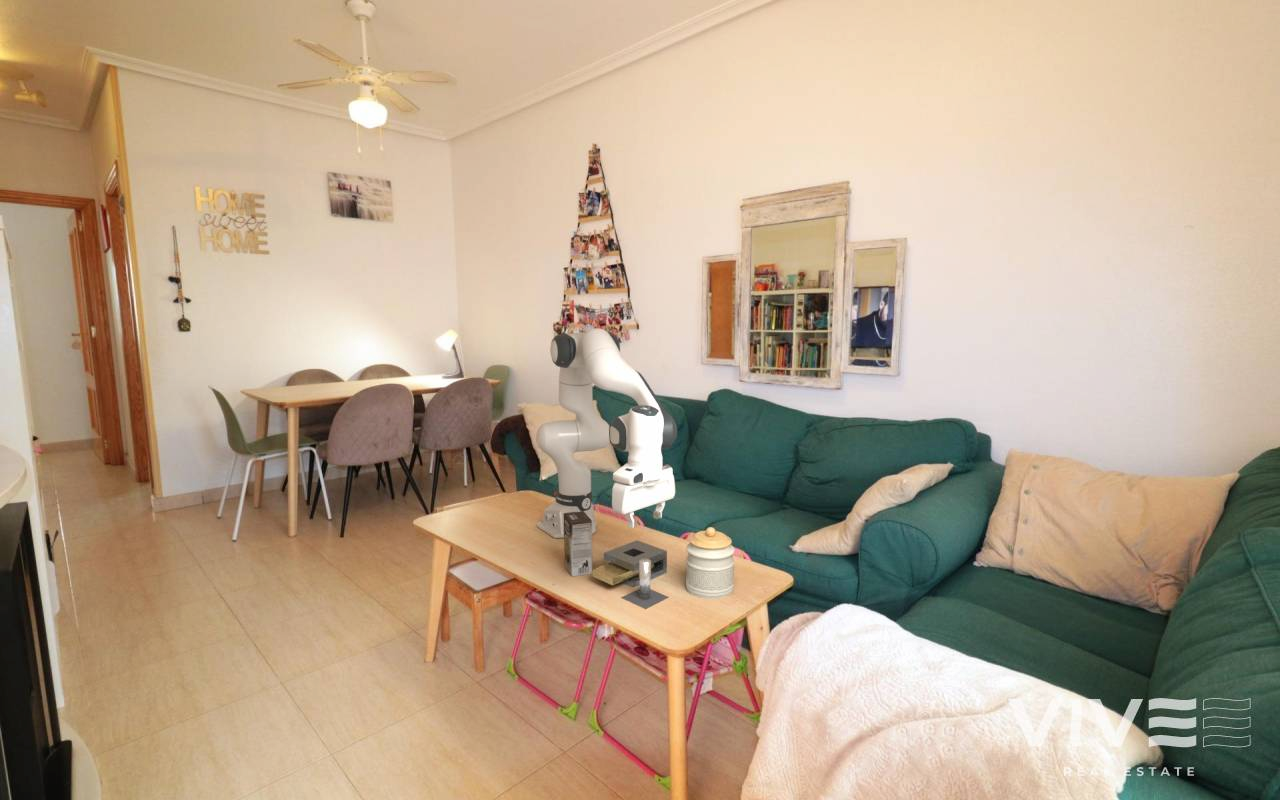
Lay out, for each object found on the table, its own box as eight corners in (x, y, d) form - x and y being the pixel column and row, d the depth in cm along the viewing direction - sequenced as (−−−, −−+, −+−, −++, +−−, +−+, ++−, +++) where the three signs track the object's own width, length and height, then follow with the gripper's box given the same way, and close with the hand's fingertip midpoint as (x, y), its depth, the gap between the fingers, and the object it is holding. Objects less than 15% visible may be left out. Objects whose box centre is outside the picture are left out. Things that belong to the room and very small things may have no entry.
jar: (702, 575, 168) (703, 516, 166) (742, 588, 160) (744, 526, 158) (676, 591, 158) (676, 528, 156) (717, 606, 150) (718, 540, 148)
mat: (620, 599, 154) (620, 597, 154) (644, 588, 160) (644, 586, 160) (645, 611, 148) (645, 609, 148) (669, 598, 154) (669, 597, 154)
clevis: (588, 582, 163) (587, 558, 162) (636, 562, 177) (636, 540, 176) (618, 596, 155) (617, 571, 154) (666, 574, 169) (666, 550, 168)
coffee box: (563, 564, 176) (562, 512, 173) (584, 561, 178) (584, 510, 176) (571, 577, 167) (570, 522, 165) (593, 573, 169) (592, 519, 167)
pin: (636, 597, 154) (636, 560, 152) (644, 593, 156) (644, 557, 155) (645, 601, 152) (645, 564, 150) (653, 597, 154) (653, 560, 153)
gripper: (663, 461, 159) (662, 510, 161) (607, 475, 144) (608, 529, 146) (681, 465, 155) (680, 515, 156) (625, 479, 140) (625, 535, 142)
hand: (645, 522), depth 151 cm, fingers open, 8 cm apart
